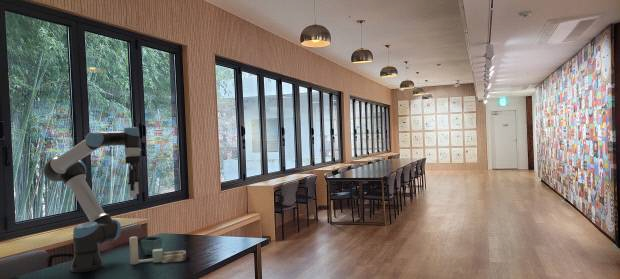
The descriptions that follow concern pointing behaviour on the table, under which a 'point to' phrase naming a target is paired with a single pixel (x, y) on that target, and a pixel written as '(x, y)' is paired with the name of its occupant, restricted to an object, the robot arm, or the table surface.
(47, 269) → the table surface
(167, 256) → the beige u-shaped frame
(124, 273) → the table surface
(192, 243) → the table surface
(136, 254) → the beige teardrop-shaped paddle
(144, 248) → the flower pot
